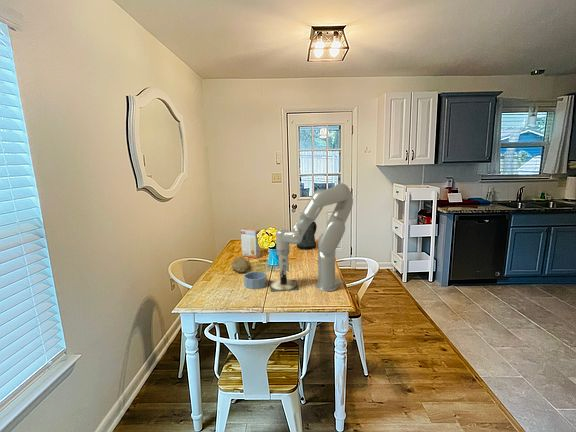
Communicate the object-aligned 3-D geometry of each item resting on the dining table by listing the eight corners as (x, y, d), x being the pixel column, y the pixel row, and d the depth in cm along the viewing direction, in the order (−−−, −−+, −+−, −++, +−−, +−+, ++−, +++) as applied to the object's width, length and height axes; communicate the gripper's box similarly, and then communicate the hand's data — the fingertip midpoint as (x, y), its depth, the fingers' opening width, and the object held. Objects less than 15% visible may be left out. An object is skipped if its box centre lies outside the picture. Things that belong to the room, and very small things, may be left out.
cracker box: (261, 256, 237) (260, 229, 234) (256, 259, 232) (255, 231, 229) (246, 254, 245) (245, 228, 241) (241, 256, 240) (240, 229, 236)
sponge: (235, 266, 221) (225, 269, 202) (237, 255, 221) (227, 258, 202) (252, 270, 219) (244, 274, 200) (255, 259, 219) (246, 262, 200)
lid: (294, 279, 190) (294, 270, 189) (298, 289, 175) (298, 279, 174) (269, 281, 188) (269, 271, 187) (271, 291, 173) (271, 281, 172)
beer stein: (294, 249, 257) (294, 219, 252) (300, 243, 275) (299, 215, 271) (314, 250, 252) (314, 220, 248) (318, 244, 270) (318, 215, 266)
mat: (294, 280, 190) (294, 279, 190) (299, 290, 175) (299, 289, 175) (268, 281, 188) (268, 281, 188) (270, 292, 173) (270, 291, 172)
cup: (265, 280, 190) (265, 271, 189) (267, 288, 178) (267, 278, 177) (244, 281, 189) (243, 272, 188) (244, 290, 176) (244, 280, 175)
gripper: (291, 255, 170) (292, 287, 173) (287, 247, 186) (287, 276, 190) (277, 255, 169) (278, 287, 172) (274, 247, 185) (275, 277, 189)
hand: (283, 281), depth 181 cm, fingers open, 4 cm apart
